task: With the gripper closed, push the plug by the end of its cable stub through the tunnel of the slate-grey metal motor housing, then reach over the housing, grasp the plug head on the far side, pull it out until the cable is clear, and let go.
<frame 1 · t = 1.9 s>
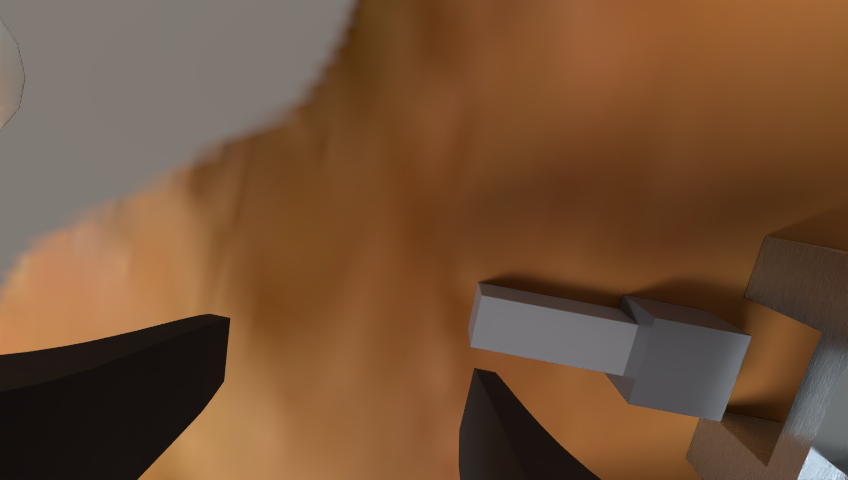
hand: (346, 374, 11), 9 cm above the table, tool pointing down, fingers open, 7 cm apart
plug: (652, 339, 20), on the table
motor housing: (764, 361, 19), on the table
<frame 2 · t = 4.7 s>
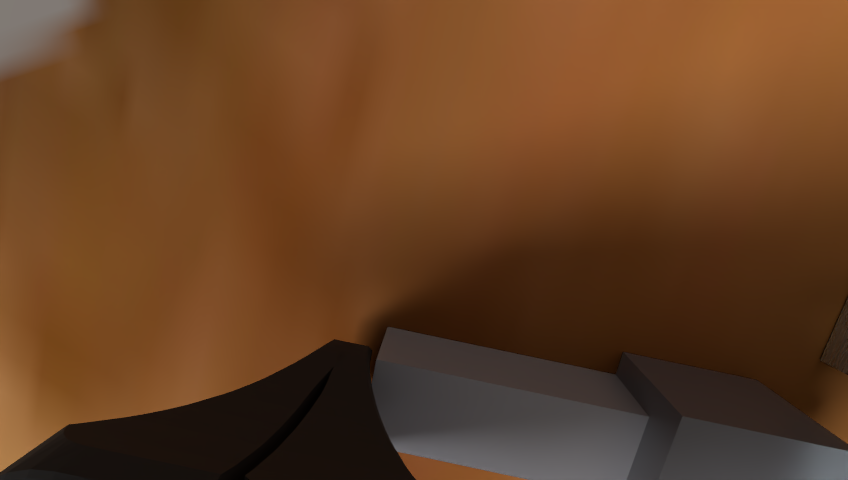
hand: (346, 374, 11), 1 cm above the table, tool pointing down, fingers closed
plug: (667, 424, 12), on the table, touching gripper
motor housing: (845, 462, 12), on the table
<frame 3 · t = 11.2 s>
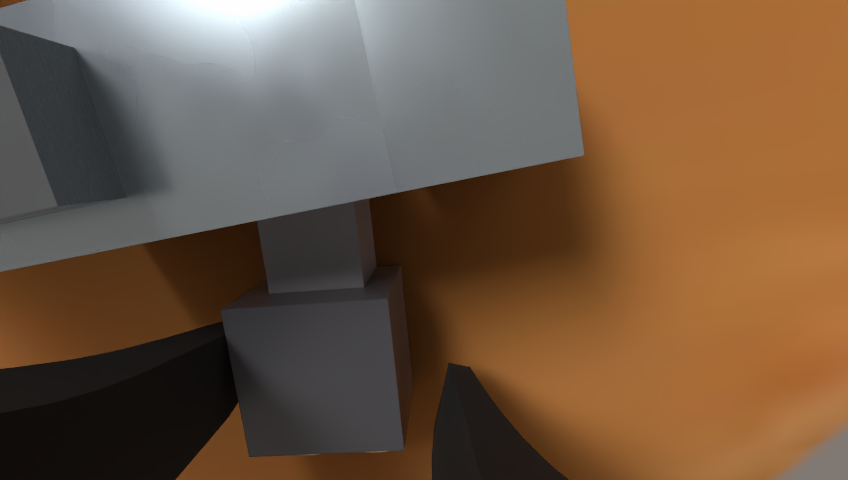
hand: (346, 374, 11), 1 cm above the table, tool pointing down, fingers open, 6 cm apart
plug: (344, 330, 13), on the table, touching gripper
motor housing: (302, 129, 11), on the table
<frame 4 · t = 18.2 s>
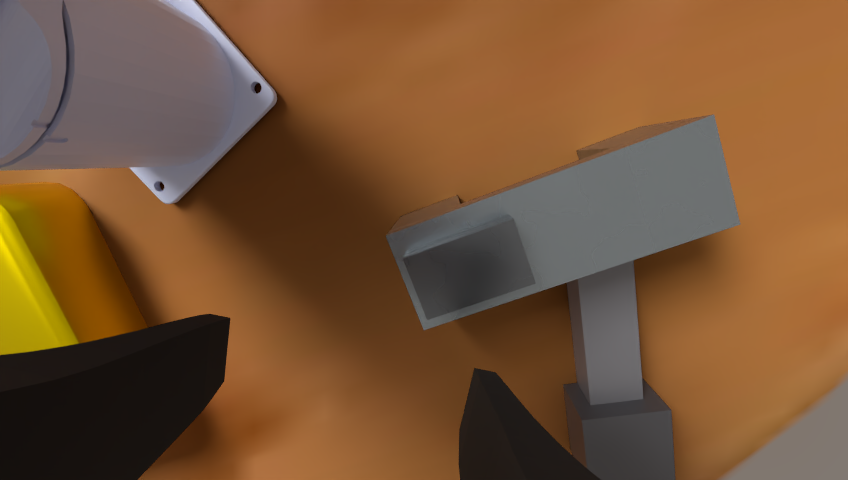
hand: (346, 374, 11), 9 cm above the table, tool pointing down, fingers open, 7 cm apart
plug: (604, 412, 21), on the table
motor housing: (528, 211, 19), on the table
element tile: (32, 335, 23), on the table
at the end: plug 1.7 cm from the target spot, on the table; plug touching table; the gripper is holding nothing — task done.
